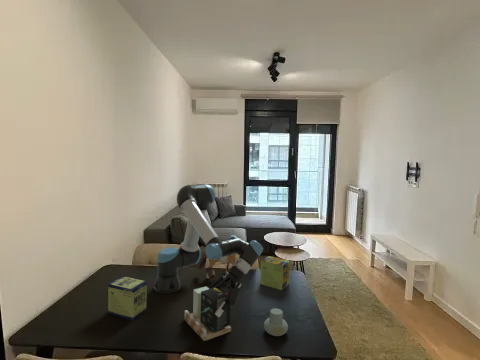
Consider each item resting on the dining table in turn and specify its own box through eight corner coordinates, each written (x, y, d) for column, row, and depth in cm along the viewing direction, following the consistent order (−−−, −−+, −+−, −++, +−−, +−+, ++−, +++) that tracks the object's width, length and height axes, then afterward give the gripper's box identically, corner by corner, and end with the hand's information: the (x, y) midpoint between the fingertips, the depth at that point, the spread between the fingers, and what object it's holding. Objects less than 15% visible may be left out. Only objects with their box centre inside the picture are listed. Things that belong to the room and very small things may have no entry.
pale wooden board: (184, 319, 146) (184, 310, 146) (209, 311, 154) (210, 303, 154) (203, 341, 130) (203, 331, 129) (231, 331, 138) (231, 321, 137)
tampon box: (230, 325, 136) (231, 294, 135) (213, 332, 131) (214, 300, 129) (216, 315, 145) (217, 285, 144) (200, 321, 139) (200, 290, 138)
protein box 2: (282, 290, 181) (283, 265, 180) (259, 284, 189) (260, 260, 188) (289, 284, 190) (290, 260, 189) (267, 278, 198) (268, 255, 197)
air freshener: (285, 327, 142) (286, 306, 142) (289, 337, 134) (290, 316, 133) (262, 327, 142) (263, 306, 141) (264, 337, 134) (265, 316, 133)
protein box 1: (133, 320, 144) (133, 289, 142) (107, 313, 149) (107, 283, 148) (147, 310, 153) (147, 281, 152) (122, 304, 159) (122, 275, 158)
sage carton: (193, 313, 148) (193, 289, 147) (205, 309, 152) (206, 286, 151) (197, 317, 144) (198, 293, 143) (210, 313, 148) (211, 290, 147)
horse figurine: (242, 272, 207) (243, 243, 205) (244, 277, 199) (245, 246, 198) (196, 275, 200) (197, 244, 198) (197, 280, 193) (198, 248, 191)
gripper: (222, 257, 151) (193, 294, 143) (250, 273, 132) (218, 317, 124) (230, 266, 154) (203, 302, 147) (259, 283, 135) (229, 326, 128)
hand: (210, 309), depth 136 cm, fingers closed on tampon box, 11 cm apart
